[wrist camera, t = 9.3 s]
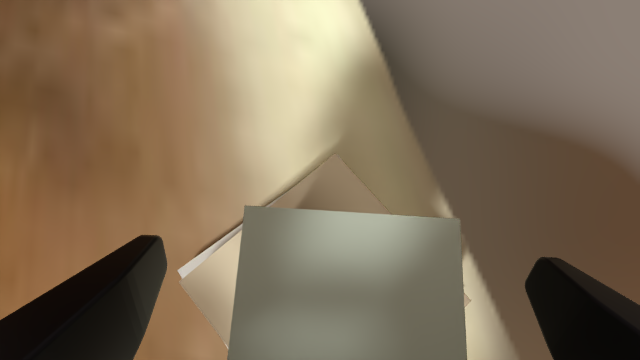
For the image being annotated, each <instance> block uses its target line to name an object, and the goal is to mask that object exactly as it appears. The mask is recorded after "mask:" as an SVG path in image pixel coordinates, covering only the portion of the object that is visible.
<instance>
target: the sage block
mask: <svg viewBox="0 0 640 360" xmlns="http://www.w3.org/2000/svg"><path fill="white" fill-rule="evenodd" d="M227 360H467V349H466V329H465V309H464V289H463V269H462V249H461V230H460V219H453V218H437V217H421V216H405V215H389V214H373V213H356V212H340V211H324V210H308V209H292V208H276V207H260V206H245V208H244V217H243V226H242V235H241V243H240V252H239V261H238V270H237V278H236V287H235V296H234V305H233V314H232V322H231V331H230V340H229V349H228V358H227Z"/></svg>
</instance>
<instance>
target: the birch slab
mask: <svg viewBox="0 0 640 360" xmlns="http://www.w3.org/2000/svg"><path fill="white" fill-rule="evenodd" d="M270 207H276V208H292V209H308V210H324V211H340V212H356V213H373V214H389V215H392V214H391V213H390V212H389V211H388V210H387V208H386V207H385V206H384V205H383V204H382V203H381V202H380V201H379V200H378V199H377V198H376V197H375V195H374V194H373V193H372V192H371V191H370V190H369V189H368V188H367V187H366V186H365V185H364V184H363V182H362V181H361V180H360V179H359V178H358V177H357V176H356V175H355V174H354V173H353V172H352V171H351V169H350V168H349V167H348V166H347V165H346V164H345V163H344V162H343V161H342V160H341V159H340V157H339V156H338V155H337V154H336V153H334V154H333V155H332V156H331V157H330V158H328V159H327V160H326V161H325V162H323V163H322V164H321V165H320V166H319V167H317V168H316V169H315V170H314V171H313V172H311V173H310V174H309V175H308V176H306V177H305V178H304V179H303V180H302V181H300V182H299V183H298V184H297V185H296V186H294V187H293V188H292V189H291V190H289V191H288V192H287V193H286V194H285V195H283V196H282V197H281V198H280V199H279V200H277V201H276V202H275V203H274V204H273V205H271V206H270ZM241 235H242V230H241V231H240V232H239V233H237V234H236V235H235V236H234V237H233V238H231V239H230V240H229V241H228V242H226V243H225V244H224V245H223V246H222V247H220V248H219V249H218V250H217V251H216V252H214V253H213V254H212V255H211V256H209V257H208V258H207V259H206V260H205V261H203V262H202V263H201V264H200V265H199V266H197V267H196V268H195V269H194V270H192V271H191V272H190V273H189V274H188V275H186V276H185V277H184V278H183V279H182V280H180V281H179V283H180V284H181V286H182V287H183V288H184V290H185V291H186V292H187V294H188V295H189V296H190V298H191V299H192V300H193V302H194V303H195V304H196V306H197V307H198V308H199V310H200V311H201V312H202V314H203V315H204V316H205V317H206V319H207V320H208V321H209V323H210V324H211V325H212V327H213V328H214V329H215V331H216V332H217V333H218V335H219V336H220V337H221V339H222V340H223V341H224V343H225V344H226V345H227V347H228V348H229V340H230V331H231V322H232V314H233V305H234V296H235V287H236V278H237V270H238V261H239V252H240V243H241ZM470 301H471V300H470V299H469V297H468V296H467V295H466V294H465V293H464V308H465V307H466V306H467V305H468V303H469V302H470Z"/></svg>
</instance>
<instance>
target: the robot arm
mask: <svg viewBox="0 0 640 360" xmlns="http://www.w3.org/2000/svg"><path fill="white" fill-rule="evenodd" d="M166 270H167V259H166V254H165V250H164V245H163V241H162V238H161V237H160V236H157V235H141V236H139V237H137V238H135V239H133V240H132V241H130V242H129V243H127V244H125V245H124V246H122V247H120V248H119V249H117V250H115V251H114V252H112V253H110V254H109V255H107V256H105V257H104V258H102V259H100V260H99V261H97V262H96V263H94V264H92V265H91V266H89V267H87V268H86V269H84V270H82V271H81V272H79V273H77V274H76V275H74V276H72V277H71V278H69V279H67V280H66V281H64V282H63V283H61V284H59V285H58V286H56V287H54V288H53V289H51V290H49V291H48V292H46V293H44V294H43V295H41V296H39V297H38V298H36V299H34V300H33V301H31V302H30V303H28V304H26V305H25V306H23V307H21V308H20V309H18V310H16V311H15V312H13V313H11V314H10V315H8V316H6V317H5V318H3V319H1V320H0V360H133V359H134V357H135V354H136V352H137V350H138V348H139V346H140V344H141V341H142V339H143V337H144V334H145V332H146V329H147V326H148V323H149V321H150V318H151V315H152V312H153V309H154V306H155V303H156V300H157V297H158V294H159V291H160V288H161V285H162V282H163V279H164V277H165V274H166ZM525 289H526V292H527V295H528V298H529V300H530V302H531V305H532V308H533V310H534V313H535V316H536V318H537V321H538V323H539V326H540V328H541V331H542V333H543V336H544V339H545V341H546V344H547V346H548V348H549V351H550V353H551V355H552V357H553V359H554V360H640V305H638V304H637V303H635V302H633V301H632V300H630V299H628V298H626V297H625V296H623V295H621V294H620V293H618V292H616V291H615V290H613V289H611V288H609V287H608V286H606V285H604V284H602V283H601V282H599V281H597V280H596V279H594V278H592V277H591V276H589V275H587V274H585V273H584V272H582V271H580V270H579V269H577V268H575V267H573V266H571V265H570V264H568V263H566V262H565V261H563V260H561V259H559V258H552V257H551V258H550V257H541V258H539V259H538V260H537V261H536V263H535V264H534V266H533V268H532V270H531V272H530V273H529V275H528V277H527V279H526V281H525Z"/></svg>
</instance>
